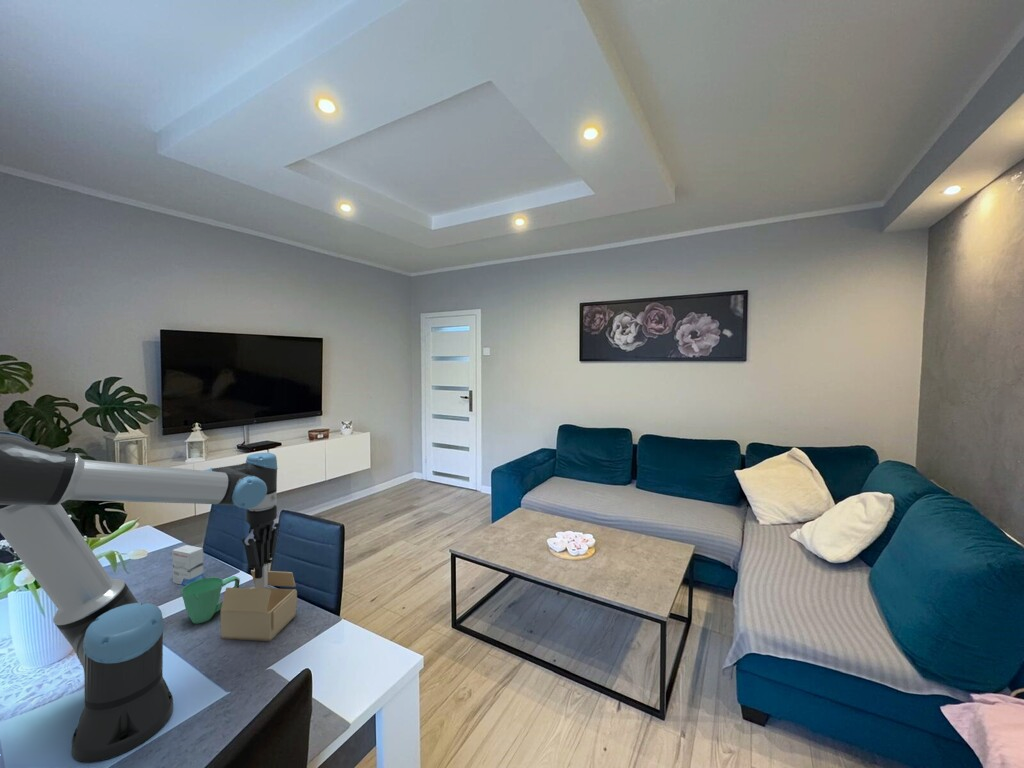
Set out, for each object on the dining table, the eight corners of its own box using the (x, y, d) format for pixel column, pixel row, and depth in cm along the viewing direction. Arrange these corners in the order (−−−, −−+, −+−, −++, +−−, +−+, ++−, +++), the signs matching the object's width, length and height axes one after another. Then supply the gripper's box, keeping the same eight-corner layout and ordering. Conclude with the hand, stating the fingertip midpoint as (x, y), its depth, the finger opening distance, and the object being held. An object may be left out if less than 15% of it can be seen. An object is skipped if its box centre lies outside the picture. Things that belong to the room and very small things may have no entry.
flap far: (295, 586, 123) (291, 573, 121) (254, 584, 124) (250, 571, 122) (295, 585, 123) (292, 572, 121) (255, 583, 124) (251, 569, 122)
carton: (272, 641, 110) (272, 613, 110) (218, 638, 111) (218, 609, 111) (297, 615, 122) (298, 589, 122) (249, 612, 123) (249, 586, 123)
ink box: (204, 580, 141) (204, 547, 141) (189, 587, 136) (189, 553, 136) (186, 576, 144) (187, 543, 143) (171, 583, 139) (171, 549, 139)
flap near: (221, 609, 110) (227, 587, 112) (266, 612, 110) (271, 589, 112) (220, 609, 110) (226, 587, 112) (265, 612, 109) (270, 590, 111)
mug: (188, 633, 113) (188, 598, 113) (176, 620, 119) (176, 587, 118) (246, 608, 125) (246, 577, 125) (232, 598, 131) (232, 568, 130)
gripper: (258, 515, 109) (258, 600, 110) (288, 500, 122) (287, 576, 123) (232, 514, 110) (232, 598, 111) (264, 499, 123) (264, 575, 124)
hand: (261, 586), depth 117 cm, fingers closed
